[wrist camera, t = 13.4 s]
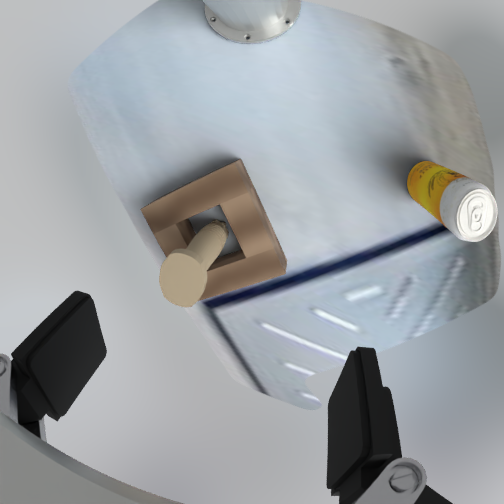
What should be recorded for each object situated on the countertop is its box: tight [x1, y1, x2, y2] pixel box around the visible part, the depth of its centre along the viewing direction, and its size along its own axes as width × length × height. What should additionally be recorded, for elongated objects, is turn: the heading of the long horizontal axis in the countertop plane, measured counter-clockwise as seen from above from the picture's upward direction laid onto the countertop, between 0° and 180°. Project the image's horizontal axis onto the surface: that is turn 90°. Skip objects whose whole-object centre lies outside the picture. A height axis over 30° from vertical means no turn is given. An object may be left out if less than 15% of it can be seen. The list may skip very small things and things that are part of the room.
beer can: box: [407, 161, 497, 242], centre depth 28 cm, size 6×6×15 cm
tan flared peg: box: [159, 220, 229, 307], centre depth 37 cm, size 5×6×15 cm
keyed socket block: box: [141, 159, 287, 301], centre depth 42 cm, size 16×15×4 cm
